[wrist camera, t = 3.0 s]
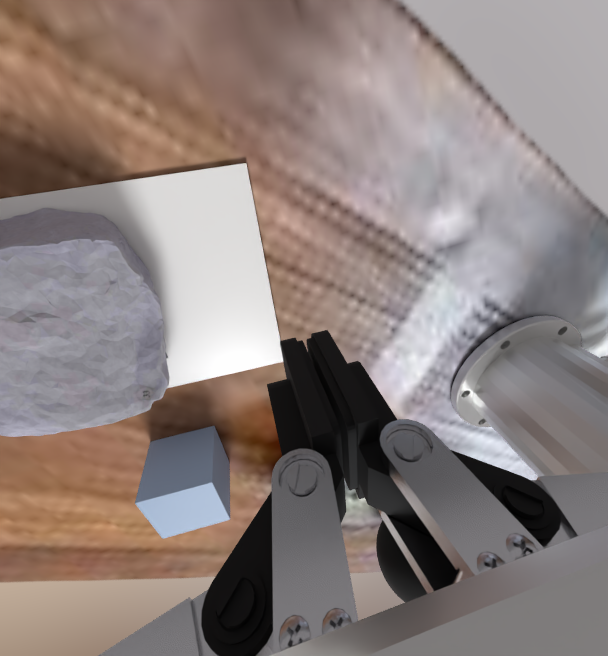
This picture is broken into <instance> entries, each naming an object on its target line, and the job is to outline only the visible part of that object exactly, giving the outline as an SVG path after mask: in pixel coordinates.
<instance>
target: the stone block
mask: <svg viewBox="0 0 608 656" xmlns="http://www.w3.org/2000/svg"><path fill="white" fill-rule="evenodd" d="M165 353H166V343H165V339H164V321H163V317H162V310H161V303H160V300H159V297H158V295H157V293H156V292H155V290H154V286H153V282H152V280H151V277H150V272H149V270H148V269H147V267H146V266H145V264H144V263H143V262H142V260H141V259H140V258H139V257H138V256H137V255H136V253H135V252H134V251H133V249H132V248H131V247H130V245H129V244H128V242H127V240H126V238H125V237H124V236H123V235H122V234H121V232H120V231H119V229H118V227H117V226H116V225H115V224H114V223H113V222H111V221H109V220H108V219H107V218H106V217H104V216H103V215H100V214H94V213H81V212H72V211H64V210H59V209H52V208H42V209H39V210H36V211H34V212H31V213H28V214H24V215H17V216H14V217H12V218H9V219H4V220H0V435H2V436H12V437H17V436H29V435H33V436H42V435H45V434H56V433H59V432H64V431H72V430H79V429H84V428H90V427H97V426H100V425H106V424H111V423H114V422H117V421H120V420H123V419H126V418H129V417H132V416H136V415H138V414H140V413H143V412H146V411H148V410H150V409H151V406H152V403H153V402H154V401H156V400H159V399H161V398H162V397H163V396H164V393H165V390H166V389H167V387H168V385H169V378H170V377H169V372H168V366H167V360H166V354H165Z"/></svg>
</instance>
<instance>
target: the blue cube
mask: <svg viewBox="0 0 608 656" xmlns="http://www.w3.org/2000/svg"><path fill="white" fill-rule="evenodd" d="M135 504H136V505H137V506H138V508H139V509H140V510H141V512H142V513H143V514H144V515H145V517H146V518H147V519H148V521H149V522H150V523H151V524H152V526H153V527H154V528H155V530H156V531H157V532H158V533H159V535H160V536H161V537H162V538H163V539H164V538H167V537H171V536H174V535H178V534H181V533H185V532H188V531H192V530H195V529H199V528H202V527H206V526H209V525H213V524H216V523H220V522H223V521H226V520H230V463H229V460H228V458H227V455H226V453H225V451H224V448H223V446H222V443H221V441H220V438H219V436H218V433H217V431H216V428H215V426H211V427H207V428H203V429H199V430H195V431H191V432H187V433H183V434H179V435H175V436H171V437H167V438H163V439H159V440H155V441H151V442H150V445H149V449H148V453H147V457H146V461H145V465H144V469H143V473H142V477H141V481H140V485H139V489H138V493H137V497H136V501H135Z"/></svg>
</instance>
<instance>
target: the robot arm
mask: <svg viewBox="0 0 608 656" xmlns="http://www.w3.org/2000/svg"><path fill="white" fill-rule="evenodd" d="M280 346H281V351H282V357H283V362H284V367H285V372H286V377H287V379H286V380H282V381H278V382H274V383H270V384H267V387H268V392H269V396H270V401H271V406H272V410H273V415H274V419H275V424H276V429H277V433H278V438H279V443H280V447H281V452H282V458H281V459H280V460H279V461H278V462H277V463H276V466H275V468H274V470H273V474H272V492H271V493H270V495H269V496H268V498H267V499H266V501H265V502H264V504H263V505H262V507H261V508H260V510H259V511H258V513H257V514H256V516H255V518H254V519H253V521H252V522H251V524H250V525H249V527H248V528H247V530H246V531H245V533H244V534H243V536H242V537H241V539H240V540H239V542H238V544H237V545H236V547H235V548H234V550H233V551H232V553H231V554H230V556H229V557H228V559H227V560H226V562H225V563H224V565H223V567H222V568H221V570H220V571H219V573H218V574H217V576H216V577H215V579H214V580H213V582H212V584H211V586H210V588H209V589H208V590H207V591H205V592H204V593H202V594H201V595H199V596H197V597H196V598H194V599H193V600H191V599H190V598H188V599H186V600H185V601H183V602H181V603H180V604H178V605H177V606H175V607H174V608H172V609H170V610H169V611H167V612H166V613H164V614H163V615H161V616H159V617H158V618H156V619H155V620H153V621H152V622H150V623H149V624H147V625H145V626H144V627H142V628H141V629H139V630H138V631H136V632H134V633H133V634H131V635H130V636H128V637H127V638H125V639H124V640H122V641H120V642H119V643H117V644H116V645H114V646H113V647H111V648H110V649H108V650H106V651H105V652H103V653H102V654H100V655H99V656H608V355H607V356H603V357H601V358H599V357H597V356H595V355H594V354H592V353H590V352H589V351H587V350H585V349H583V348H582V340H581V335H580V333H579V331H578V330H577V328H576V327H574V326H573V325H572V324H571V323H569V322H567V321H564V320H562V319H560V318H558V317H554V316H549V315H546V316H535V317H530V318H526V319H523V320H520V321H518V322H515V323H513V324H510V325H508V326H507V327H505V328H503V329H501V330H499V331H497V332H496V333H495V334H493V335H492V336H491V337H489V338H488V339H486V340H485V341H484V342H483V343H482V344H481V345H480V346H478V347H477V348H476V349H475V350H474V351H473V352H472V354H471V355H470V356H469V357H468V358H467V359H466V361H465V362H464V364H463V365H462V367H461V368H460V370H459V371H458V373H457V376H456V378H455V380H454V382H453V386H452V390H451V402H452V406H453V408H454V410H455V411H456V413H457V414H458V415H459V416H460V417H461V418H462V419H463V420H464V421H465V422H466V423H468V424H470V425H473V426H477V427H492V428H493V429H494V430H495V431H496V432H497V433H498V434H499V435H500V436H501V437H502V439H503V440H504V441H505V442H506V443H507V444H508V445H509V446H510V447H511V448H512V449H513V450H514V451H515V452H516V453H517V455H518V456H519V457H520V458H521V459H522V460H523V461H524V462H525V463H526V464H527V465H528V466H529V467H530V468H531V469H532V471H533V472H534V473H535V474H536V475H537V476H538V478H537V480H532V481H531V480H529V479H527V478H525V477H522V476H520V475H517V474H514V473H512V472H509V471H506V470H504V469H501V468H498V467H495V466H493V465H490V464H487V463H485V462H482V461H479V460H476V459H474V458H471V457H468V456H465V455H463V454H460V453H457V452H455V451H452V450H450V449H449V448H448V447H447V446H446V445H445V444H444V443H443V442H442V441H441V440H440V439H439V438H438V437H437V436H436V435H435V434H434V433H433V432H432V431H431V430H430V429H429V428H427V427H426V426H425V425H423V424H421V423H419V422H417V421H413V420H408V419H399V420H397V418H396V417H395V415H394V414H393V412H392V411H391V409H390V408H389V406H388V405H387V403H386V401H385V400H384V398H383V397H382V395H381V394H380V392H379V391H378V389H377V388H376V386H375V384H374V383H373V381H372V380H371V378H370V377H369V375H368V374H367V372H366V371H365V369H364V367H363V366H362V365H361V363H360V362H358V361H356V362H352V363H348V364H347V362H346V361H345V359H344V357H343V355H342V354H341V352H340V350H339V349H338V347H337V345H336V344H335V342H334V340H333V338H332V337H331V335H330V333H329V332H328V330H325V331H321V332H317V333H313V334H311V338H310V339H307V348H308V352H307V349H306V347H305V345H304V343H303V341H302V340H301V341H297V340H296V338H291V339H287V340H283V341H280ZM344 478H345V481H346V483H347V486H348V488H349V490H352V489H355V490H356V492H357V495H358V497H359V499H361V498H364V497H365V499H366V501H367V504H368V505H370V506H372V507H374V508H376V509H378V511H379V513H380V515H381V517H382V519H383V521H384V522H385V524H386V526H387V527H388V529H389V531H390V532H391V534H392V536H393V537H394V539H395V541H396V542H397V544H398V546H399V547H400V549H401V551H402V552H403V554H404V556H405V557H406V559H407V561H408V562H409V564H410V565H411V567H412V569H413V570H414V572H415V574H416V575H417V577H418V579H419V580H420V582H421V584H422V585H423V587H424V589H425V590H426V592H427V594H426V595H424V596H421V597H419V598H416V599H413V600H411V601H408V602H406V603H403V604H401V605H398V606H395V607H393V608H390V609H388V610H385V611H383V612H380V613H377V614H375V615H372V616H370V617H367V618H365V619H362V620H360V621H358V616H357V611H356V605H355V600H354V594H353V589H352V583H351V578H350V572H349V567H348V561H347V556H346V551H345V545H344V540H343V534H342V529H341V522H342V520H343V517H344V515H345V513H346V500H345V485H344Z"/></svg>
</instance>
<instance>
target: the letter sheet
mask: <svg viewBox="0 0 608 656" xmlns="http://www.w3.org/2000/svg"><path fill="white" fill-rule="evenodd" d="M42 208H52V209H59V210H64V211H72V212H81V213H94V214H100V215H103V216H104V217H106V218H107V219H108V220H109V221H111V222H113V223H114V224H115V225H116V226H117V227H118V229H119V231H120V232H121V234H122V235H123V236H124V237H125V238H126V240H127V242H128V244H129V245H130V247H131V248H132V249H133V251H134V252H135V253H136V255H137V256H138V257H139V258H140V259H141V260H142V262H143V263H144V264H145V266H146V267H147V269H148V270H149V272H150V277H151V280H152V282H153V286H154V290H155V292H156V293H157V295H158V297H159V300H160V303H161V310H162V317H163V321H164V339H165V343H166V353H165V354H166V360H167V366H168V372H169V377H170V378H169V385H168V387H167V388H170V387H175V386H179V385H184V384H188V383H192V382H197V381H201V380H205V379H210V378H214V377H218V376H223V375H227V374H231V373H236V372H240V371H245V370H249V369H253V368H258V367H262V366H266V365H271V364H275V363H279V362H283V357H282V351H281V346H280V336H279V331H278V326H277V321H276V316H275V310H274V305H273V300H272V295H271V289H270V284H269V279H268V274H267V269H266V263H265V258H264V253H263V248H262V243H261V237H260V232H259V227H258V222H257V216H256V211H255V206H254V201H253V196H252V190H251V185H250V180H249V175H248V170H247V164H246V163H242V164H235V165H228V166H222V167H215V168H208V169H201V170H194V171H187V172H180V173H174V174H167V175H160V176H153V177H146V178H139V179H133V180H126V181H119V182H112V183H105V184H98V185H91V186H85V187H78V188H71V189H64V190H57V191H50V192H43V193H37V194H30V195H23V196H16V197H9V198H2V199H0V220H4V219H9V218H12V217H14V216H17V215H24V214H28V213H31V212H34V211H36V210H39V209H42Z"/></svg>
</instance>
